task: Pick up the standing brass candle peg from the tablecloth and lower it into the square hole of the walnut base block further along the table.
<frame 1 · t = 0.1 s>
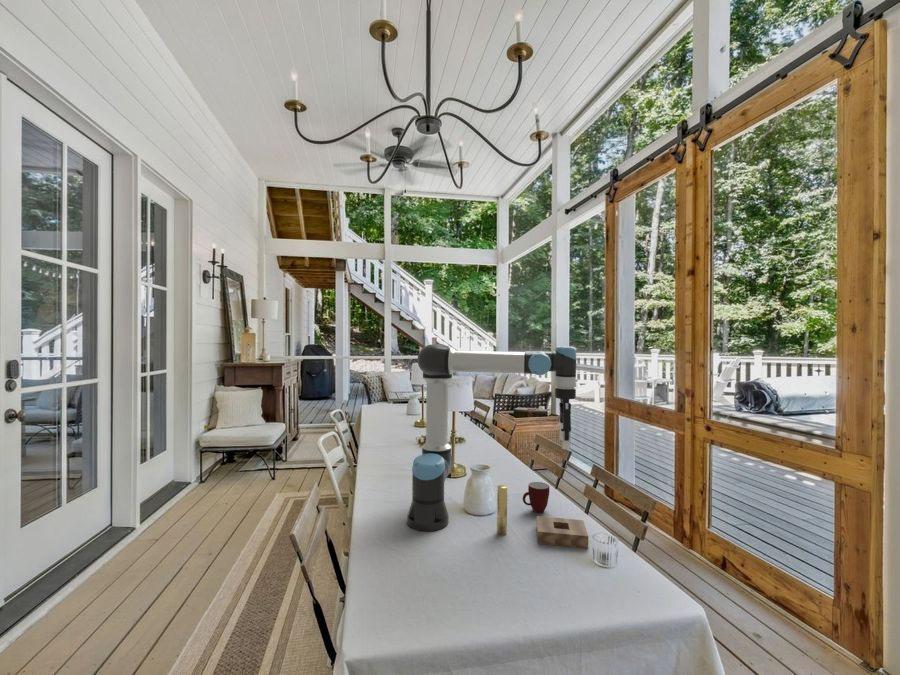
hand: (564, 444, 157), 28 cm above the table, fingers open, 13 cm apart
mug: (535, 511, 164), on the table
brass peg: (501, 533, 145), on the table
socket block: (561, 537, 143), on the table
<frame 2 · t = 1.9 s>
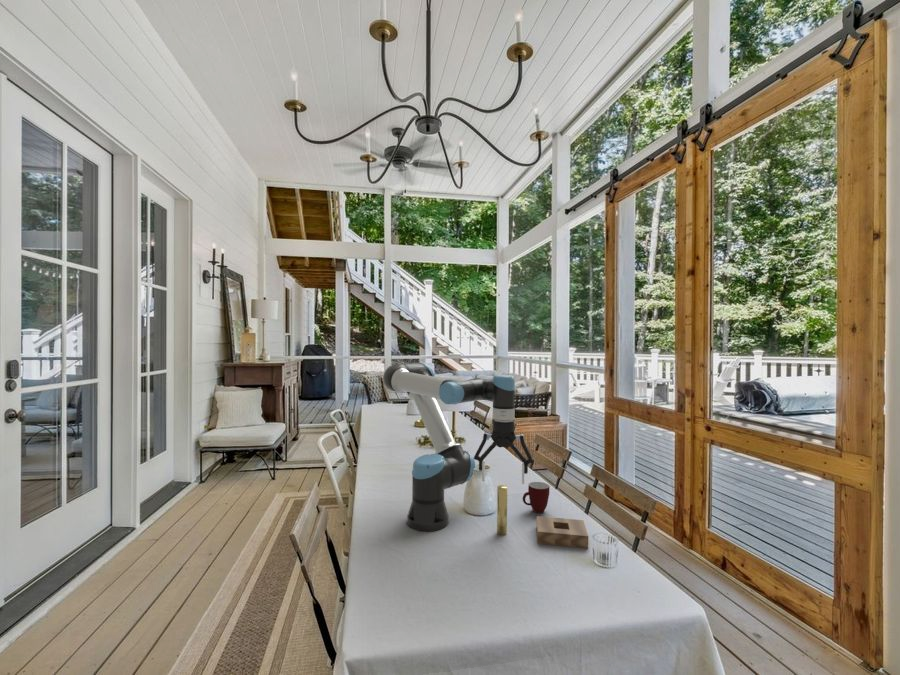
hand: (503, 481, 145), 18 cm above the table, fingers open, 13 cm apart
nothing on the table moved.
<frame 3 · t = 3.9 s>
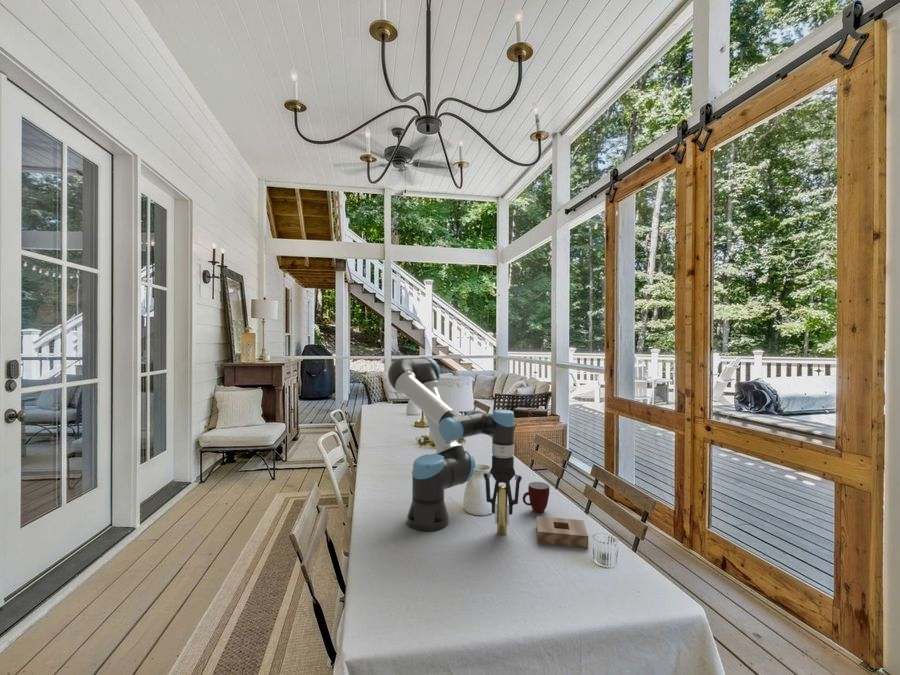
hand: (501, 522, 145), 4 cm above the table, fingers closed on brass peg, 3 cm apart
brass peg: (501, 533, 145), on the table, touching gripper
everything else where it was.
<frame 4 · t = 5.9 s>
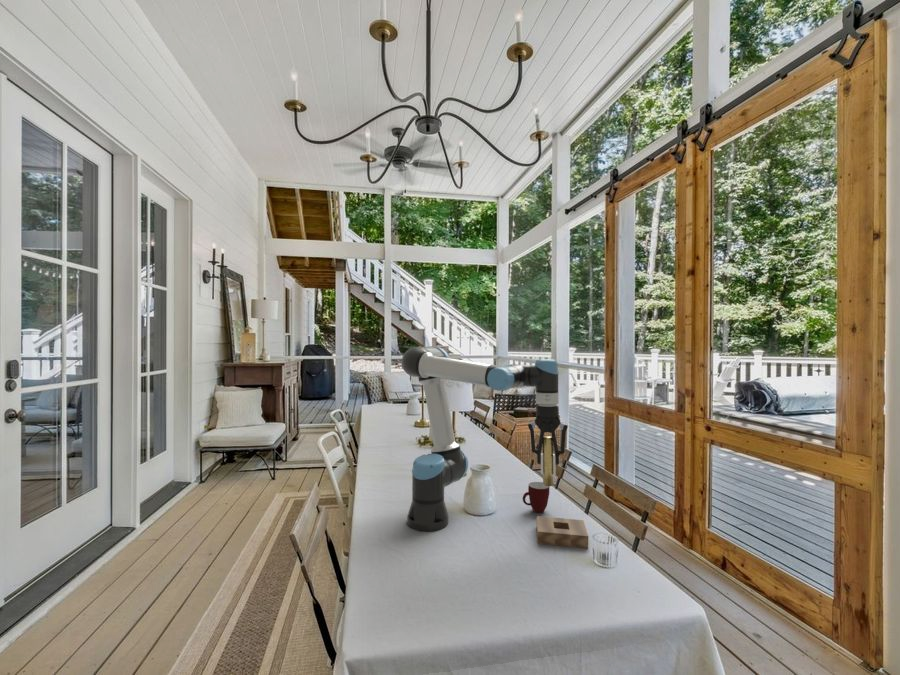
hand: (548, 473, 143), 22 cm above the table, fingers closed on brass peg, 3 cm apart
brass peg: (548, 484, 142), point 18 cm above the table, touching gripper
everything else where it was.
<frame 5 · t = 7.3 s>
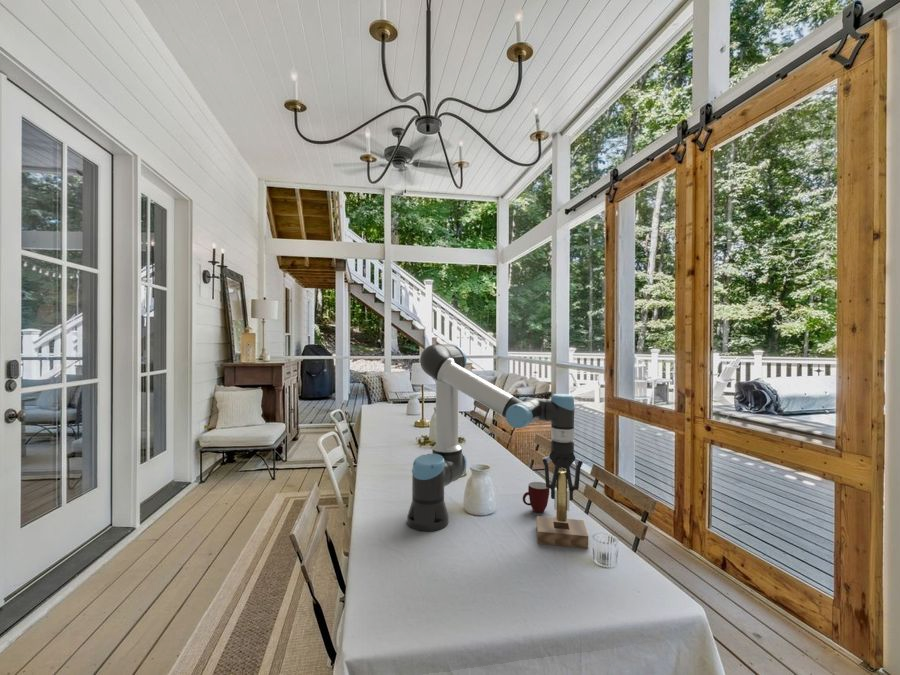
hand: (561, 508, 143), 10 cm above the table, fingers closed on brass peg, 3 cm apart
brass peg: (561, 519, 142), point 6 cm above the table, touching gripper
everything else where it was.
when the fingers open (6 cm above the table, at t = 8.4 s): brass peg drops 1 cm, resting in socket block.
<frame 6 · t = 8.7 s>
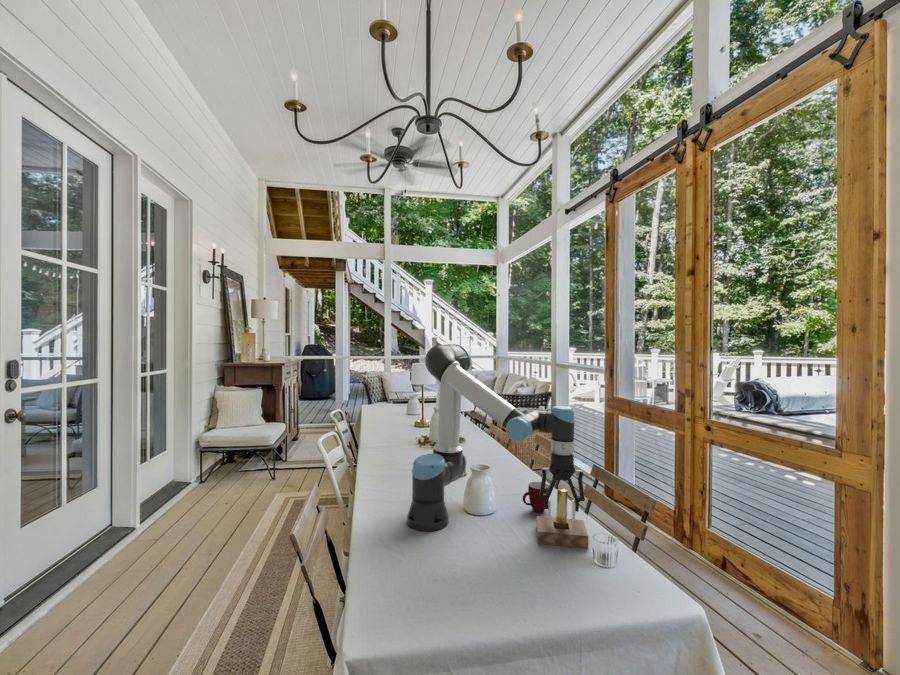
hand: (561, 519, 143), 6 cm above the table, fingers open, 7 cm apart
brass peg: (560, 537, 143), resting in socket block
everything else where it was.
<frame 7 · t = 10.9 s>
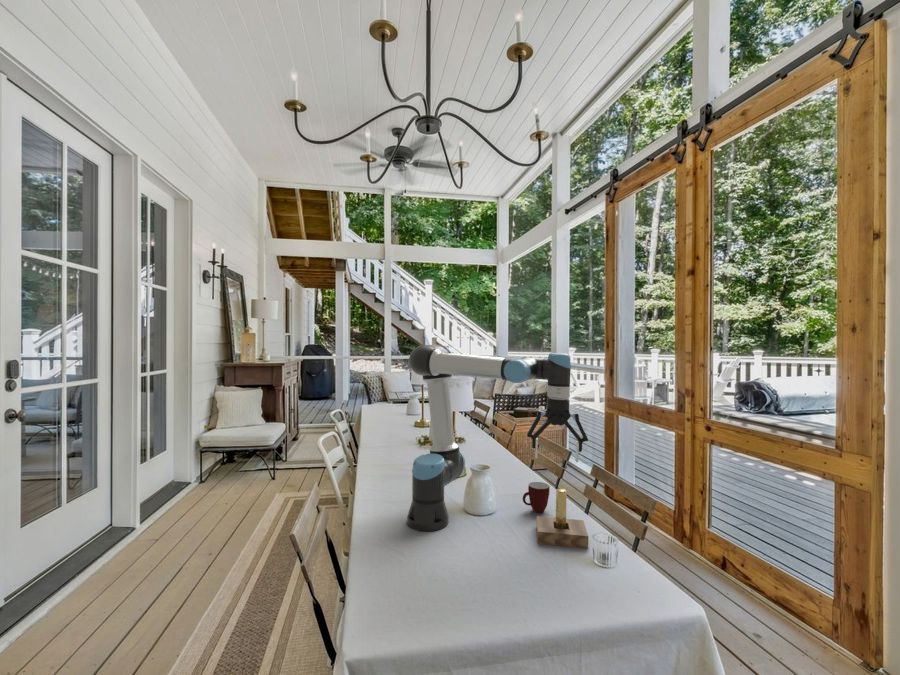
hand: (556, 459, 145), 26 cm above the table, fingers open, 13 cm apart
nothing on the table moved.
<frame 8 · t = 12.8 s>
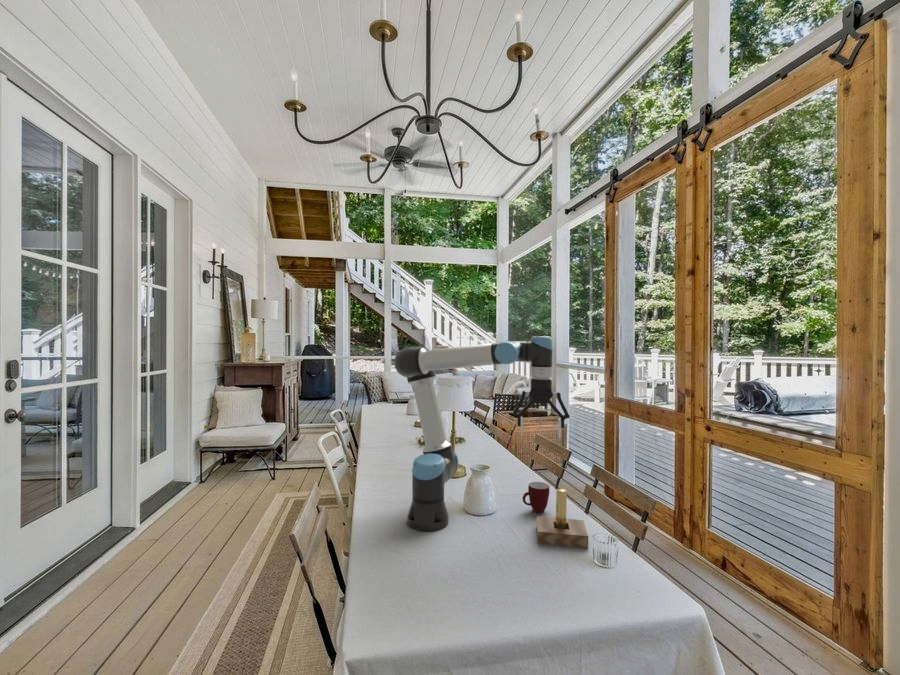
hand: (540, 436, 154), 32 cm above the table, fingers open, 13 cm apart
nothing on the table moved.
at the end: brass peg 0.1 cm off-centre on the socket block, point 0.0 cm above the socket block's base; brass peg tilted 0°; the gripper is holding nothing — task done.
